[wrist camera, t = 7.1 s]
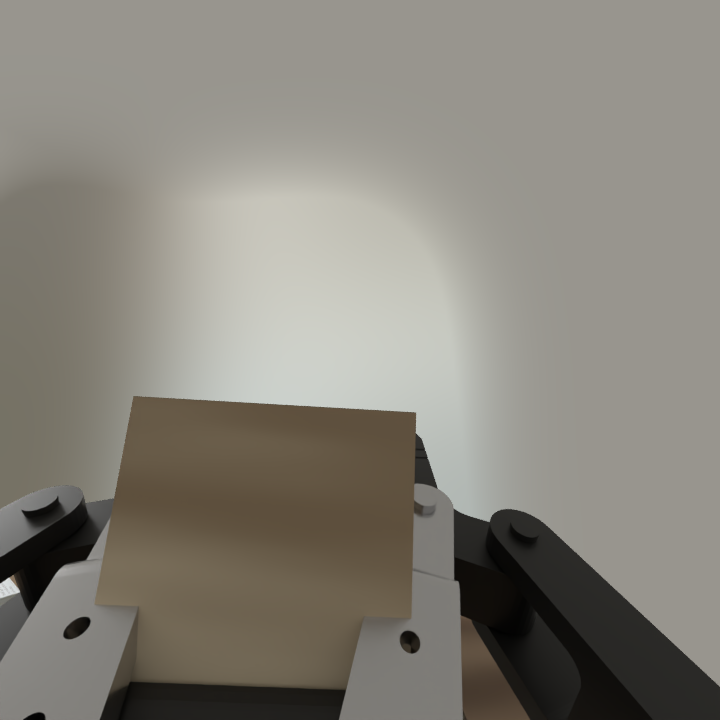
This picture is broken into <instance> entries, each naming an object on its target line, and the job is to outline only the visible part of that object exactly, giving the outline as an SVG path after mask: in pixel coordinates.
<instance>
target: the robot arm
mask: <svg viewBox="0 0 720 720" xmlns="http://www.w3.org/2000/svg"><path fill="white" fill-rule="evenodd" d="M427 458H428V457H427V454H426V451H425V448H424V445H423V442H422V439H421V438H420V437H419V436H418V435H417V434H416V437H415V482H414V526H413V571H412V616H411V618H392V617H369V616H364V619H363V623H362V627H361V631H360V635H359V640H358V644H357V648H356V652H355V656H354V660H353V664H352V668H351V672H350V677H349V681H348V685H347V689H346V690H332V689H306V688H280V687H255V686H229V685H203V684H178V683H152V682H130V679H131V676H132V672H133V669H134V666H135V663H136V658H137V635H138V613H139V606H119V605H96V604H94V603H95V598H96V592H97V587H98V582H99V576H100V571H101V566H102V561H103V555H104V550H105V545H106V539H107V534H108V529H109V524H110V518H111V513H112V508H113V502H114V499H108V500H102V501H96V502H90V503H85V499H84V495H83V492H82V490H81V489H80V488H78V487H75V486H68V485H65V486H54V487H49V488H46V489H42V490H39V491H36V492H33V493H31V494H28V495H26V496H24V497H22V498H20V499H18V500H16V501H15V502H13V503H11V504H9V505H7V506H5V507H3V508H1V509H0V584H1V583H2V582H4V581H5V580H6V579H8V578H9V577H11V576H12V575H14V577H15V580H16V583H17V585H18V588H19V591H20V592H19V593H18V594H17V595H15V596H14V597H13V598H11V599H10V600H9V601H7V602H6V603H5V604H3V605H2V606H0V720H463V707H462V663H461V619H460V615H461V616H463V617H466V618H468V619H471V621H472V624H473V626H474V628H475V629H476V631H477V633H478V634H479V636H480V638H481V639H482V641H483V643H484V644H485V646H486V647H487V649H488V651H489V652H490V654H491V656H492V657H493V659H494V661H495V662H496V664H497V666H498V667H499V669H500V671H501V672H502V674H503V676H504V677H505V679H506V680H507V682H508V684H509V685H510V687H511V689H512V690H513V692H514V694H515V695H516V697H517V699H518V700H519V702H520V704H521V705H522V707H523V708H524V710H525V712H526V713H527V715H528V717H529V718H530V720H720V687H719V686H718V685H717V684H716V683H715V682H714V681H713V680H712V679H711V678H710V677H708V676H707V674H705V673H704V672H703V671H702V670H701V669H700V668H699V667H698V666H697V665H695V663H694V662H693V661H691V660H690V659H689V658H688V657H687V656H686V655H685V654H684V653H683V652H682V651H681V650H680V649H678V648H677V647H676V646H675V645H674V644H673V643H672V642H671V641H670V640H669V639H668V638H667V637H666V636H665V635H664V634H662V633H661V632H660V631H659V630H658V629H657V628H656V627H655V626H654V625H653V624H652V623H651V622H650V621H648V620H647V619H646V618H645V617H644V616H643V615H642V614H641V613H640V612H639V611H638V610H636V608H634V607H633V606H632V605H631V604H630V603H629V602H628V601H627V600H626V599H625V598H623V596H622V595H621V594H620V593H618V592H617V591H616V590H615V589H614V588H613V587H612V586H611V585H610V584H609V583H608V582H607V581H606V580H604V579H603V578H602V577H601V576H600V575H599V574H598V573H597V572H596V571H595V570H594V569H593V568H592V567H591V566H589V565H588V564H587V563H586V562H585V561H584V560H583V559H582V558H581V557H580V556H579V555H578V554H577V553H575V552H574V551H573V550H572V549H571V548H570V547H569V546H568V545H567V544H566V543H565V542H564V541H563V540H562V539H560V538H559V537H558V536H557V535H556V534H555V533H554V532H553V531H552V530H551V529H550V528H548V526H546V525H545V524H544V523H543V522H541V521H540V520H539V519H537V518H535V517H533V516H531V515H529V514H527V513H525V512H521V511H518V510H512V509H505V510H500V511H497V512H496V513H494V514H493V515H492V517H491V520H490V522H487V521H483V520H480V519H477V518H473V517H470V516H467V515H464V514H462V513H460V512H458V511H456V510H455V509H453V505H452V502H451V501H450V499H449V498H448V497H447V496H446V495H445V494H444V493H443V492H442V491H440V490H439V489H438V488H437V485H436V482H435V479H434V476H433V473H432V469H431V466H430V464H429V460H428V459H427ZM404 644H409V645H410V646H411V654H410V653H407V652H406V651H404V650H403V648H402V647H401V646H402V645H404Z"/></svg>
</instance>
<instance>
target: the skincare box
mask: <svg viewBox="0 0 720 720" xmlns="http://www.w3.org/2000/svg"><path fill="white" fill-rule="evenodd" d="M19 592H20V591H19V589H18V588H17V587H16V585H15V584H14V583H13V582H12V581H11V579H10V578H8V579H6V580H5V581H4V582H2V583H1V584H0V606H2V605H3V604H5V603H6V602H7V601H9V600H10V599H11V598H13V597H14V596H15V595H17V594H18V593H19Z"/></svg>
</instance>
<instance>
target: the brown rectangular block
mask: <svg viewBox="0 0 720 720" xmlns="http://www.w3.org/2000/svg"><path fill="white" fill-rule="evenodd" d="M415 432H416V413H414V412H397V411H379V410H363V409H345V408H327V407H311V406H294V405H276V404H259V403H241V402H225V401H208V400H190V399H172V398H155V397H138V396H134V397H133V402H132V407H131V413H130V418H129V423H128V429H127V434H126V439H125V445H124V450H123V455H122V460H121V465H120V471H119V476H118V481H117V487H116V492H115V497H114V502H113V508H112V513H111V518H110V524H109V529H108V534H107V539H106V545H105V550H104V555H103V561H102V566H101V571H100V576H99V582H98V587H97V592H96V598H95V603H94V604H96V605H119V606H139V613H138V635H137V658H136V663H135V666H134V669H133V672H132V676H131V679H130V682H152V683H178V684H203V685H229V686H255V687H280V688H306V689H332V690H346V689H347V685H348V681H349V677H350V672H351V668H352V664H353V660H354V656H355V652H356V648H357V644H358V640H359V635H360V631H361V627H362V623H363V619H364V616H369V617H392V618H411V616H412V571H413V526H414V482H415V437H416V433H415ZM401 647H402V648H403V650H404V651H406V652H407V653H410V654H411V646H410V645H409V644H404V645H402V646H401Z"/></svg>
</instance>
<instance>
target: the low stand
mask: <svg viewBox="0 0 720 720" xmlns="http://www.w3.org/2000/svg"><path fill="white" fill-rule="evenodd" d="M460 619H461V663H462V707H463V720H530V718H529V717H528V715H527V713H526V712H525V710H524V708H523V707H522V705H521V704H520V702H519V700H518V699H517V697H516V695H515V694H514V692H513V690H512V689H511V687H510V685H509V684H508V682H507V680H506V679H505V677H504V676H503V674H502V672H501V671H500V669H499V667H498V666H497V664H496V662H495V661H494V659H493V657H492V656H491V654H490V652H489V651H488V649H487V647H486V646H485V644H484V643H483V641H482V639H481V638H480V636H479V634H478V633H477V631H476V629H475V628H474V626H473V624H472V621H471V619H468V618H466V617H463V616H460Z"/></svg>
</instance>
